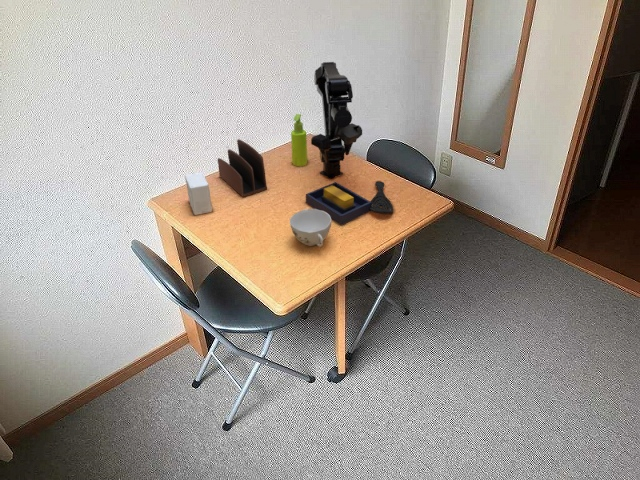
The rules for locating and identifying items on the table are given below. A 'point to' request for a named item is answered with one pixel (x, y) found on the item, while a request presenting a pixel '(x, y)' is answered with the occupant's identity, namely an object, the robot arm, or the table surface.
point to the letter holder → (244, 170)
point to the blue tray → (316, 202)
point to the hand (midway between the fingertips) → (337, 158)
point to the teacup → (311, 226)
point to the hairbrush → (381, 201)
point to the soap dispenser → (299, 143)
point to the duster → (338, 199)
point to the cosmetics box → (198, 193)
